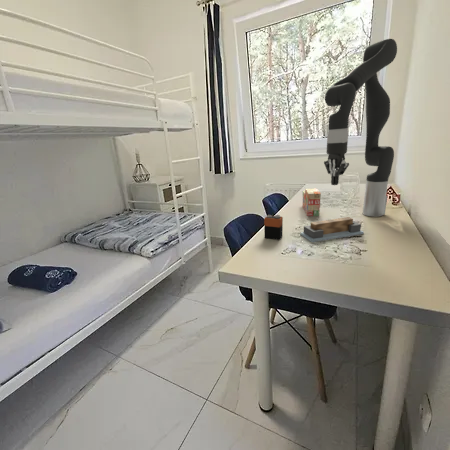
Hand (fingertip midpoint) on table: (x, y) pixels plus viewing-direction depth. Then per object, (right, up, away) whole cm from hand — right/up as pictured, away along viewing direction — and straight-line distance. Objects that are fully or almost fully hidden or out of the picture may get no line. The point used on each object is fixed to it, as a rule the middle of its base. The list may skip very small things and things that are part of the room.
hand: (334, 184), depth 105 cm
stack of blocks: (+3, -9, +38) cm, 39 cm away
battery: (-25, -22, +3) cm, 34 cm away
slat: (-1, -20, +2) cm, 20 cm away
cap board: (0, -21, +2) cm, 21 cm away
